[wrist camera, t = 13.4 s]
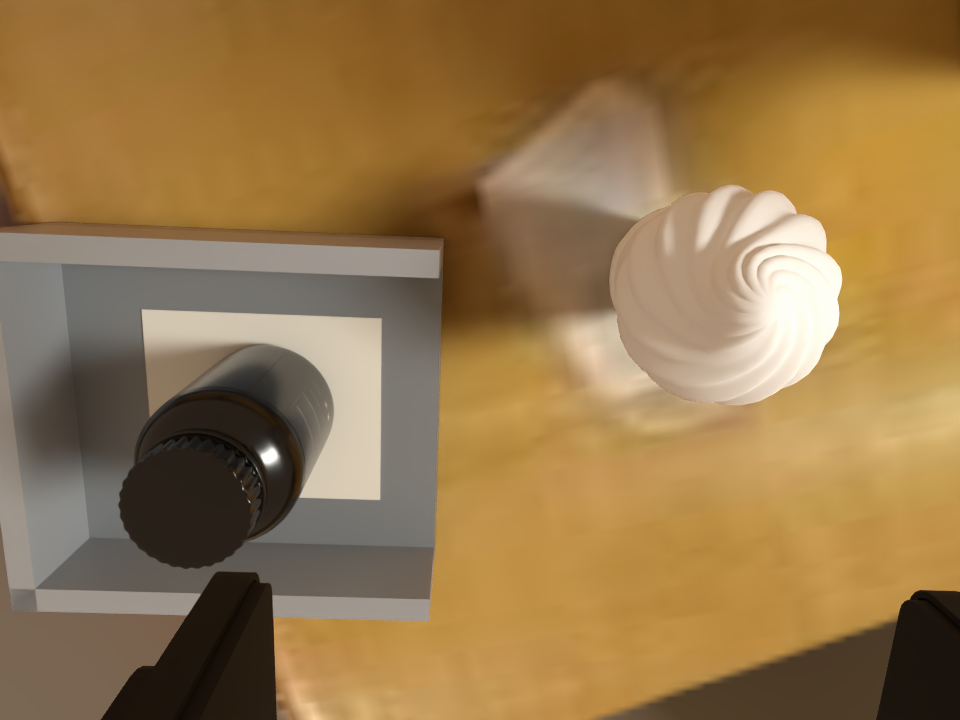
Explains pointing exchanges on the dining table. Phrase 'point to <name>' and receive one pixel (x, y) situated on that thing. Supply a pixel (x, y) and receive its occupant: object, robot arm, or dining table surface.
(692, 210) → the soft serve ice cream cone
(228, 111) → the dining table surface
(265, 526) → the supplement bottle
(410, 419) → the dock
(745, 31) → the dining table surface
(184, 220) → the dining table surface
